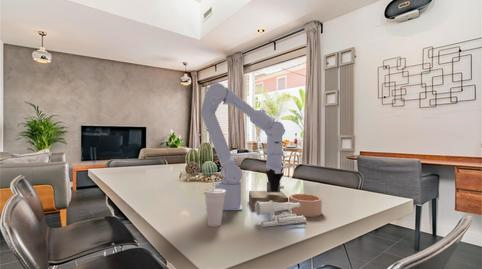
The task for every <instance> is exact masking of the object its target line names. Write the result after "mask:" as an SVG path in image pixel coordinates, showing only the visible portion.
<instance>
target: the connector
mask: <svg viewBox="0 0 482 269" xmlns="http://www.w3.org/2000/svg"><path fill="white" fill-rule="evenodd" d="M281 189H282V190H283V189H285V186H284V185H281V182H280V183H279V187H278V191H277V192H276V193H278V192H280V191H281ZM266 191H267V192H272V191H271V186H270V182H268V181H267V182H266Z"/></svg>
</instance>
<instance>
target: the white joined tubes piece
mask: <svg viewBox="0 0 482 269" xmlns="http://www.w3.org/2000/svg"><path fill="white" fill-rule="evenodd" d="M295 207H300V203H290V202H289V201H288V202H285V203H278V202H273V201H272V200H270V201H269V202H259V201H256V203H255V209H254V210H255V213H256V215H257V216H259V217H260V216H261V215H267V214H269V220H270V221H260V222H261V223H260V225H261V228H267V227H279V226H285V225H286V226H287V225H296V224H302V223H303V224H307V217H304V216H303V215H302V216H298V215H296V214H293V213H292V210H291V209H292V208H295ZM286 210H288V212H289V214H288V213H287V214H284V212H283V211H286ZM280 211H281V212H280ZM278 212H280V214H277V215H276V213H278Z"/></svg>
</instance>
